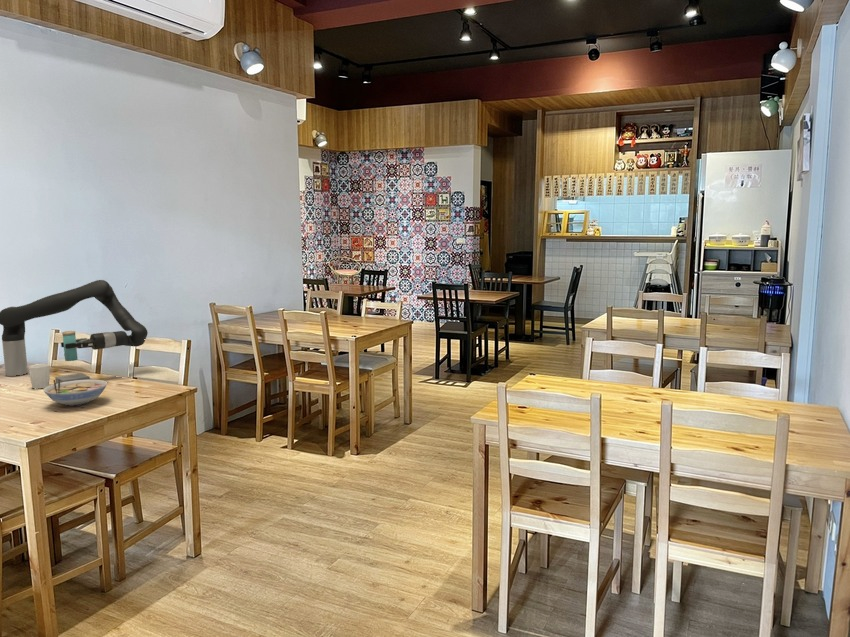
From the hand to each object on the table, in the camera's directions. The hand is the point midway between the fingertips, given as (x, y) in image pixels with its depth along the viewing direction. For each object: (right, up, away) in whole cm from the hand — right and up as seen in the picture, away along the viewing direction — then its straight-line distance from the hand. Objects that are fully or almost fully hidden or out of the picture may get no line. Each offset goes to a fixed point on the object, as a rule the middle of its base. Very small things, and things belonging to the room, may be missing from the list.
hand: (63, 345), depth 280 cm
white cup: (-10, -19, -1) cm, 21 cm away
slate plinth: (+2, -18, +4) cm, 18 cm away
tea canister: (+2, -7, +3) cm, 7 cm away
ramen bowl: (+22, -23, -28) cm, 42 cm away
